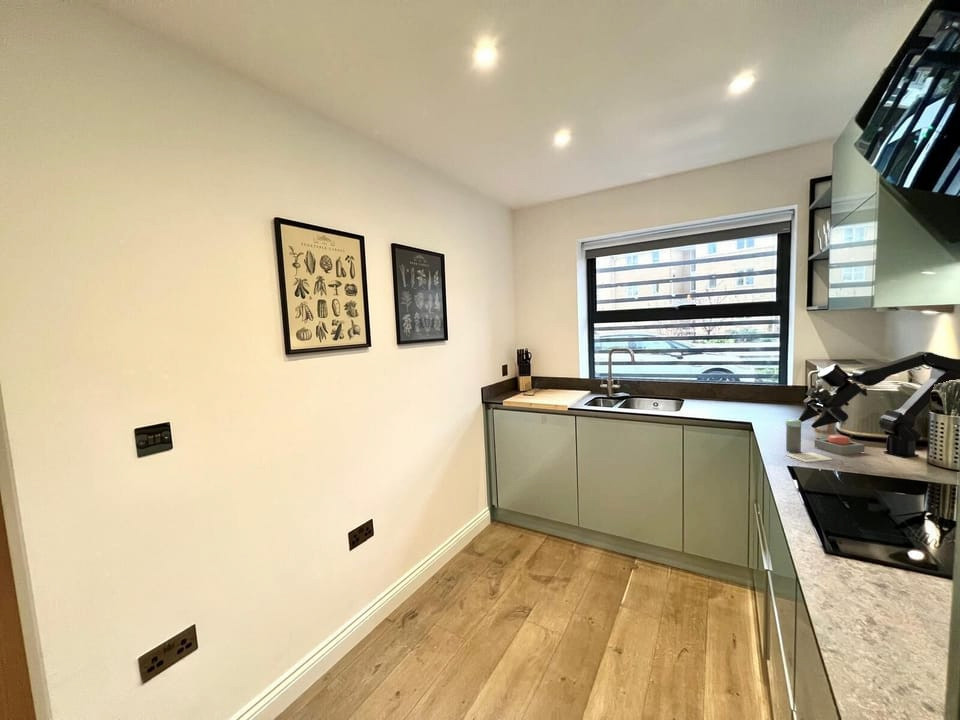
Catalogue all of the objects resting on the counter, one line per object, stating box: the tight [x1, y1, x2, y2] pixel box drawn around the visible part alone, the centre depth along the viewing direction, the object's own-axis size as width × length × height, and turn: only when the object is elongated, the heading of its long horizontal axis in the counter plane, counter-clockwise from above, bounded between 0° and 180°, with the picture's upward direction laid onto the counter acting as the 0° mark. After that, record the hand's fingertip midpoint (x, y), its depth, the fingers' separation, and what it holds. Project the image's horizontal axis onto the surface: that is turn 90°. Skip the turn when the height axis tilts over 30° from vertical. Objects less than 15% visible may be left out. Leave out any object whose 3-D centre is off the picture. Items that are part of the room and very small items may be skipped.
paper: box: [786, 451, 834, 463], centre depth 144 cm, size 8×11×1 cm
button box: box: [814, 439, 865, 456], centre depth 151 cm, size 10×10×3 cm
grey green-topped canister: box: [785, 418, 803, 454], centre depth 151 cm, size 5×5×12 cm
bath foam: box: [813, 402, 837, 440], centre depth 165 cm, size 7×7×20 cm
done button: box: [828, 434, 851, 446], centre depth 150 cm, size 6×6×4 cm
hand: (805, 424), depth 150 cm, fingers open, 9 cm apart
